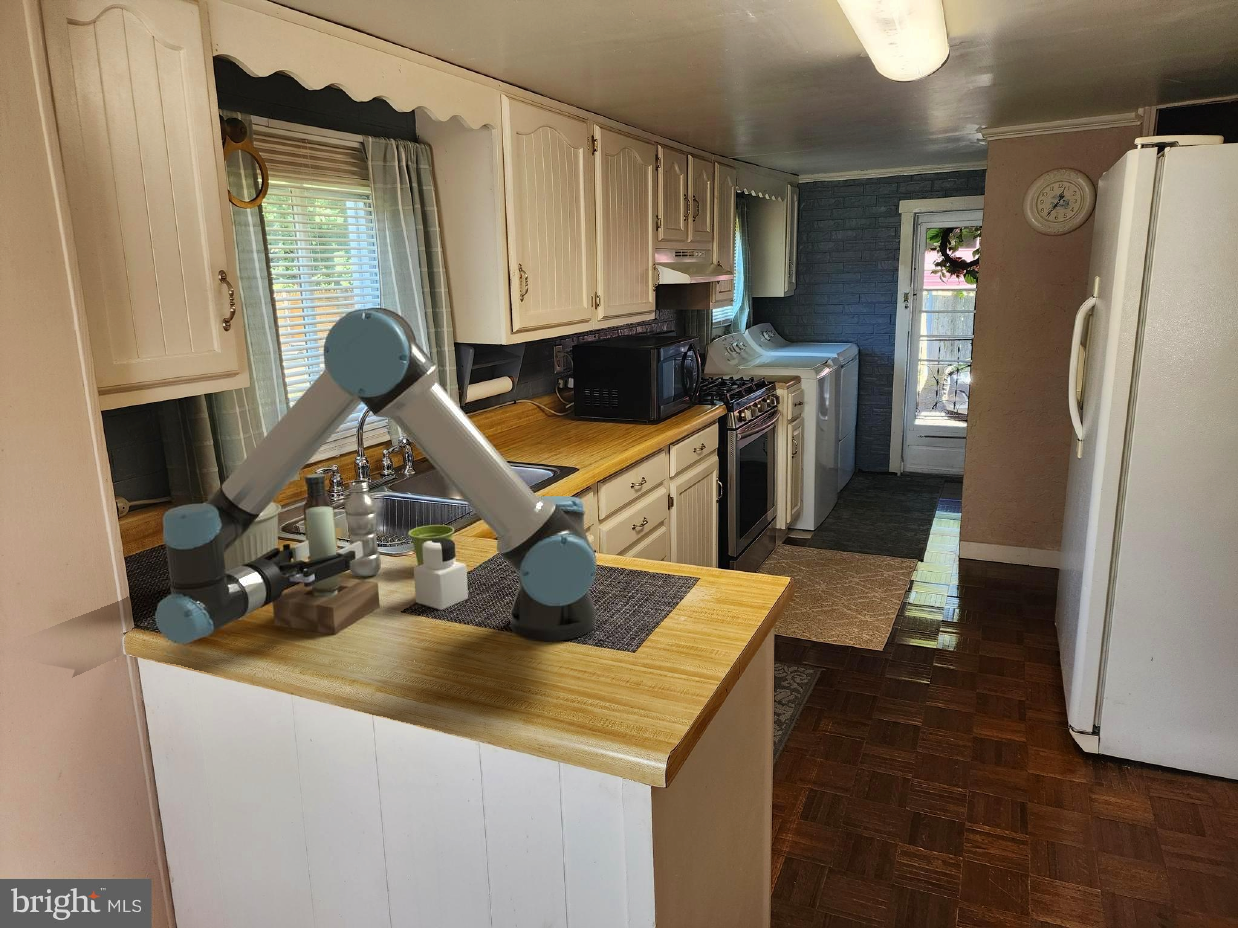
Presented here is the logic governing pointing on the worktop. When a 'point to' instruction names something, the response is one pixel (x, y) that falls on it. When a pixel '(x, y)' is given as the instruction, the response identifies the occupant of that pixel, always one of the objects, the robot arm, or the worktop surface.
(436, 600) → the medicine bottle
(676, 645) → the worktop surface
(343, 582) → the wooden holder block
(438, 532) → the plant pot
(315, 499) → the sauce bottle
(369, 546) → the plastic bottle
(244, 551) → the canister
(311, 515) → the stool leg
